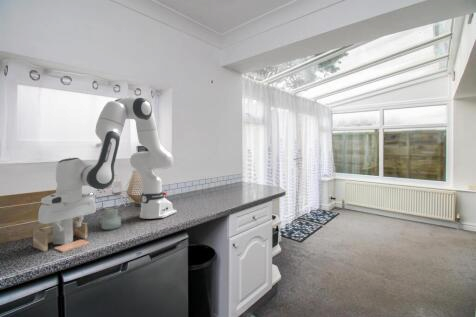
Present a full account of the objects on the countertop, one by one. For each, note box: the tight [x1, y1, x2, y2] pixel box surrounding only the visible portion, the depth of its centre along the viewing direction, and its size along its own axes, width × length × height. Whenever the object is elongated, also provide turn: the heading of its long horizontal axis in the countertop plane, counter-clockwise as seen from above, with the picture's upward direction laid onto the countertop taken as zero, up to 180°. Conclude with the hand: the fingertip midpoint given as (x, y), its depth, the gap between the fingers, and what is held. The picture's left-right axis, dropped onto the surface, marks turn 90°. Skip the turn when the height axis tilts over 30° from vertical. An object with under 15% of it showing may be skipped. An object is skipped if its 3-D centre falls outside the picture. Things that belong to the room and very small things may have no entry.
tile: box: [53, 239, 91, 253], centre depth 94 cm, size 10×7×1 cm
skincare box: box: [52, 218, 74, 245], centre depth 98 cm, size 6×4×12 cm
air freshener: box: [101, 207, 122, 231], centre depth 117 cm, size 11×8×10 cm
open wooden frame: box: [32, 219, 88, 252], centre depth 99 cm, size 16×10×7 cm, turn 152°
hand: (69, 228), depth 95 cm, fingers open, 5 cm apart
